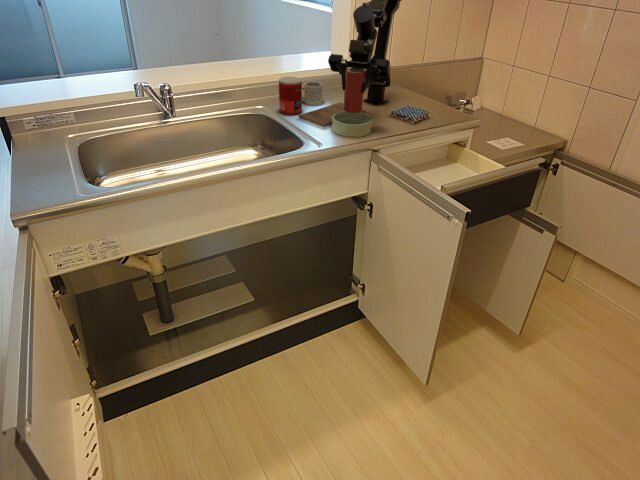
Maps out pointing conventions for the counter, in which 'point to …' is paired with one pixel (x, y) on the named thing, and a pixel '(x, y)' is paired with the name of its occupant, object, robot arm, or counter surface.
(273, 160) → the counter surface
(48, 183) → the counter surface
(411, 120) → the woven mat
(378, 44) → the robot arm
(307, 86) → the mug
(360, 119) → the bowl
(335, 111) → the cutting board
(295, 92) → the canned food
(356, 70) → the drink can
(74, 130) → the counter surface
